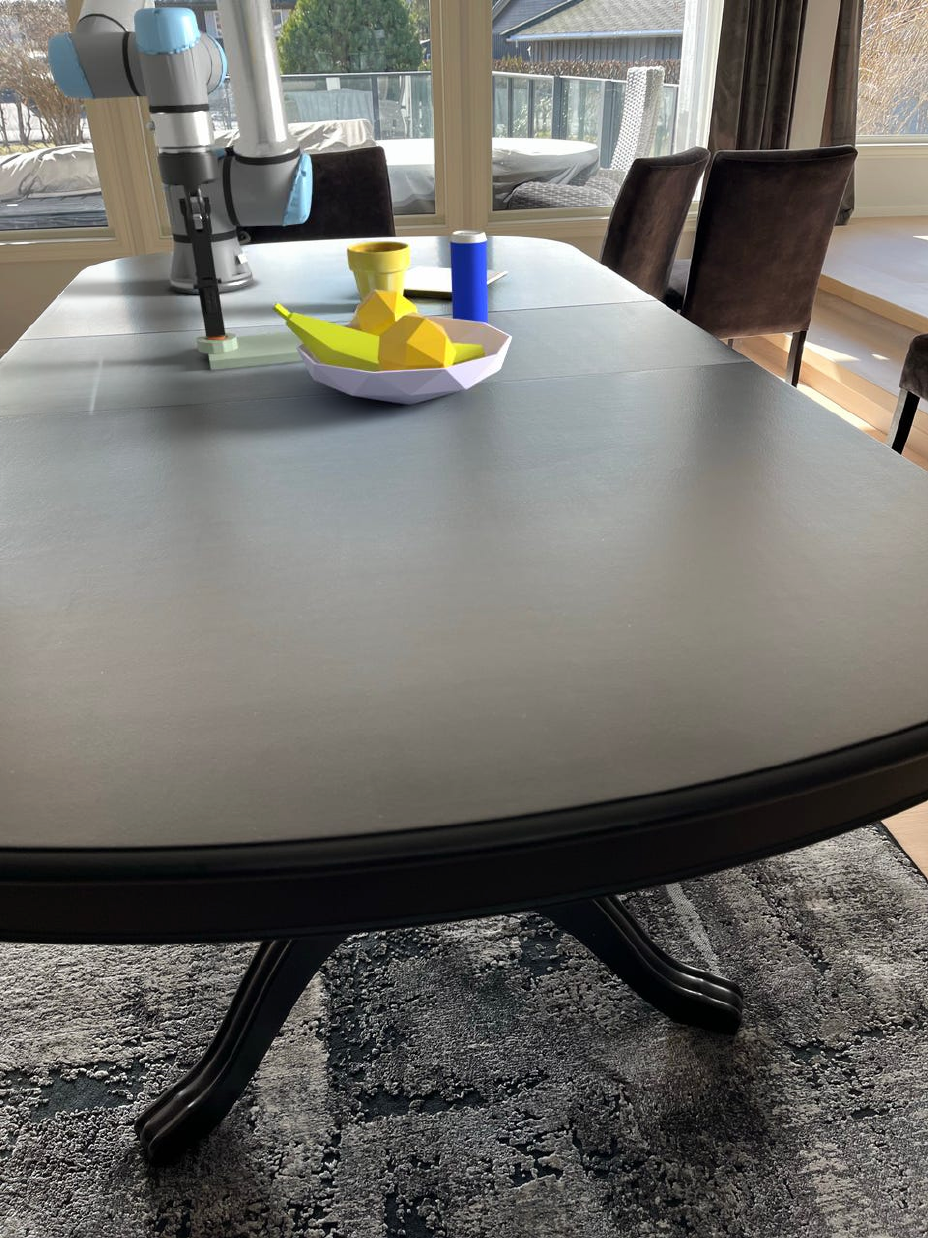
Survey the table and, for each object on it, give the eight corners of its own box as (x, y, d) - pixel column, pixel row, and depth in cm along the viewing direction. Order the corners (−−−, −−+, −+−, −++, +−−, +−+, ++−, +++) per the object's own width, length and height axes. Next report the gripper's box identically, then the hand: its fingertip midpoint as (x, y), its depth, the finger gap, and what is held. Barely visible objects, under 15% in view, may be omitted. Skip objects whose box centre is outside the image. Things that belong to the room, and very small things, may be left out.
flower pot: (404, 314, 156) (400, 251, 151) (344, 313, 158) (338, 251, 153) (419, 300, 164) (416, 240, 159) (362, 299, 166) (357, 240, 161)
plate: (373, 297, 167) (373, 285, 166) (417, 277, 182) (417, 266, 181) (471, 304, 161) (471, 291, 160) (508, 282, 176) (508, 270, 174)
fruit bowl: (524, 361, 130) (525, 275, 124) (483, 427, 107) (482, 326, 101) (332, 354, 135) (324, 272, 130) (255, 416, 113) (241, 319, 107)
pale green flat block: (198, 349, 140) (195, 329, 139) (314, 338, 144) (312, 318, 142) (201, 371, 130) (197, 349, 129) (325, 358, 134) (323, 337, 132)
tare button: (208, 345, 136) (206, 334, 135) (226, 343, 136) (224, 333, 135) (209, 350, 134) (207, 339, 133) (227, 348, 134) (225, 337, 133)
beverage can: (492, 336, 142) (491, 230, 134) (481, 345, 137) (479, 236, 130) (460, 334, 143) (457, 229, 135) (448, 343, 139) (444, 235, 131)
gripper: (156, 147, 126) (187, 326, 138) (155, 154, 116) (189, 348, 128) (213, 144, 128) (239, 321, 140) (218, 151, 117) (245, 342, 129)
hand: (215, 334), depth 134 cm, fingers closed
